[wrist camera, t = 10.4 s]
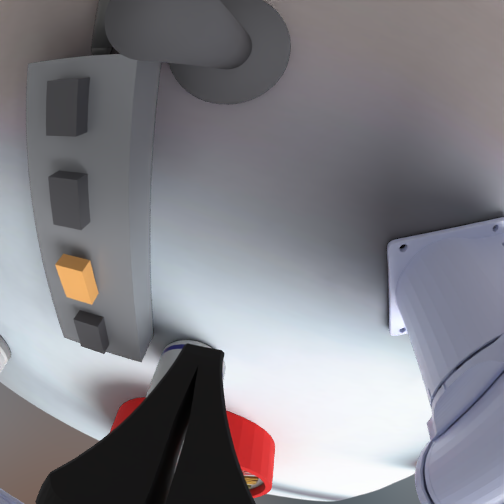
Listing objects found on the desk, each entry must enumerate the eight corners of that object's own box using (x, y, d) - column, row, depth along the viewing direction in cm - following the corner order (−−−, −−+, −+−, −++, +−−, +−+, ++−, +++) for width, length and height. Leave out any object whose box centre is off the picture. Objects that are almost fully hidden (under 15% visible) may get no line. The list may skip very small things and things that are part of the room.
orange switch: (63, 253, 17) (55, 264, 16) (90, 260, 17) (82, 271, 16) (73, 286, 18) (66, 296, 18) (98, 293, 18) (92, 304, 18)
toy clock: (292, 499, 31) (163, 494, 36) (293, 462, 36) (171, 463, 41) (227, 443, 22) (71, 432, 27) (236, 387, 27) (89, 395, 32)
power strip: (78, -40, 10) (38, -53, 7) (184, -56, 10) (158, -84, 7) (80, 313, 24) (58, 345, 21) (153, 334, 24) (137, 372, 21)
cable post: (271, -16, 11) (251, -121, 3) (303, 87, 14) (333, 97, 6) (159, 19, 13) (31, -17, 4) (191, 117, 16) (86, 173, 7)
